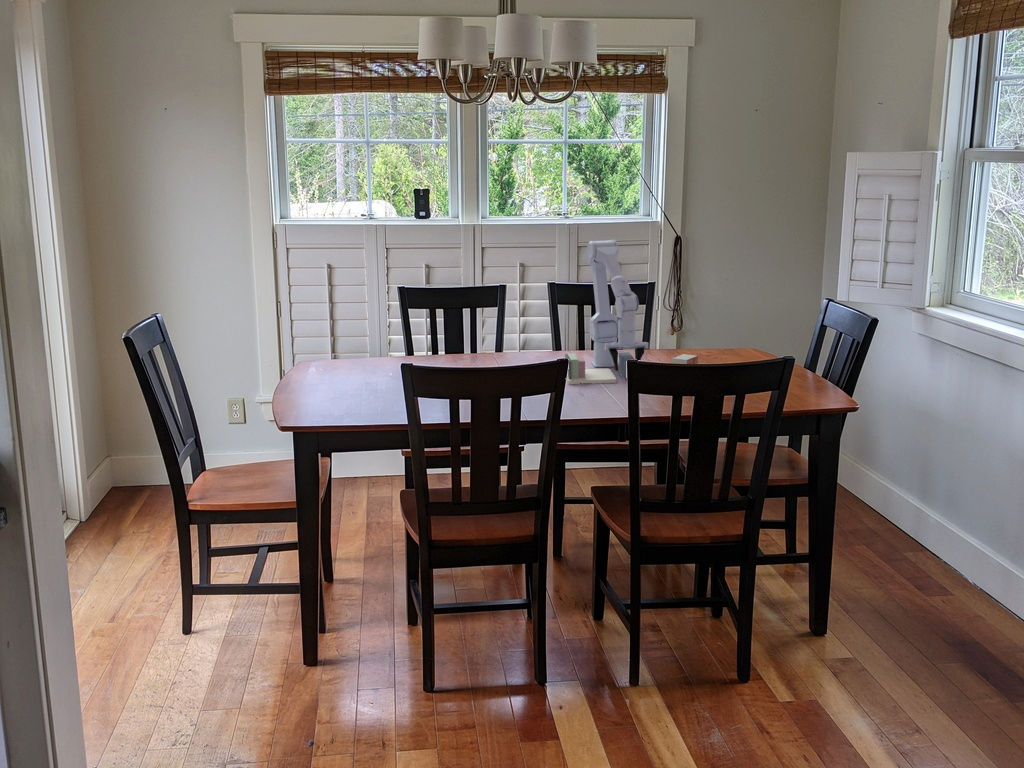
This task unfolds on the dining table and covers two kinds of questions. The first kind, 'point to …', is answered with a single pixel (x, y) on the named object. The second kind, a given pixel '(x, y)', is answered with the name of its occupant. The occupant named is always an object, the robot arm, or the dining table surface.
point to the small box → (685, 359)
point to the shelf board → (595, 377)
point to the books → (577, 366)
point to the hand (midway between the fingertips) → (626, 369)
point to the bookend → (569, 366)
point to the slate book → (623, 362)
